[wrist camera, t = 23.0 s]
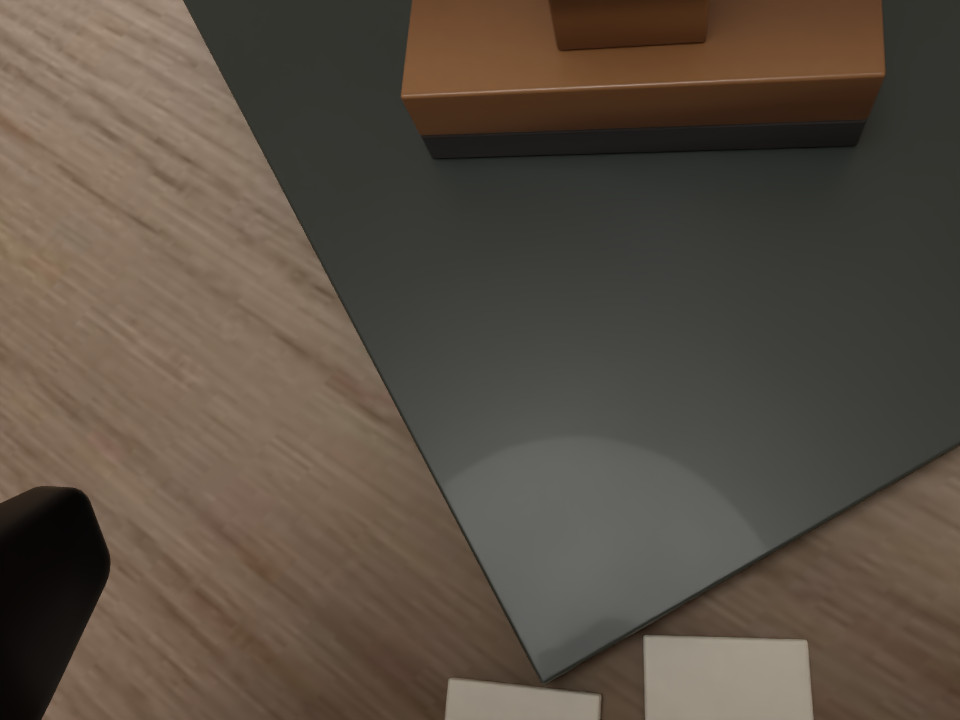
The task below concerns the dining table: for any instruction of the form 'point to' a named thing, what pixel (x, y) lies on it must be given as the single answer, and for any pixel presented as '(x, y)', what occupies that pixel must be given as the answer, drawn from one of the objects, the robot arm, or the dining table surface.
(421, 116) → the eraser
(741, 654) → the chalk mark
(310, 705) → the dining table surface
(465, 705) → the chalk mark
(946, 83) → the slate board
